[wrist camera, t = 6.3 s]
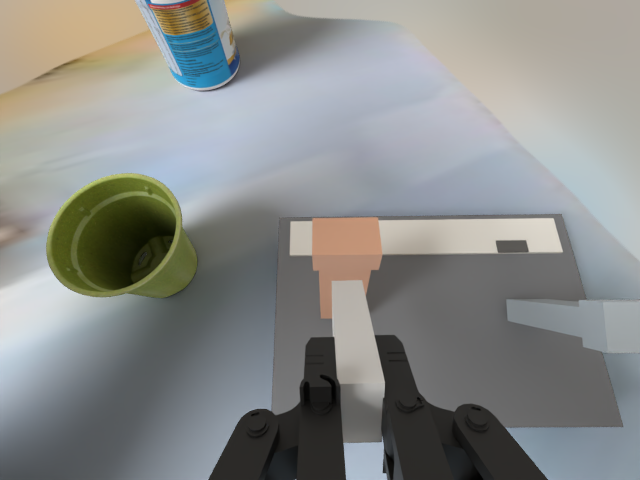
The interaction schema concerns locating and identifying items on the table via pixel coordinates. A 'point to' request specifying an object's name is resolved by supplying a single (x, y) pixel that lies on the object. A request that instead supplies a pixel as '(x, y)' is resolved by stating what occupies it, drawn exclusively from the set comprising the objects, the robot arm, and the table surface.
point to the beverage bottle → (194, 40)
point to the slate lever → (584, 321)
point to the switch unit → (458, 316)
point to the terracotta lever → (344, 253)
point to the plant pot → (121, 239)
